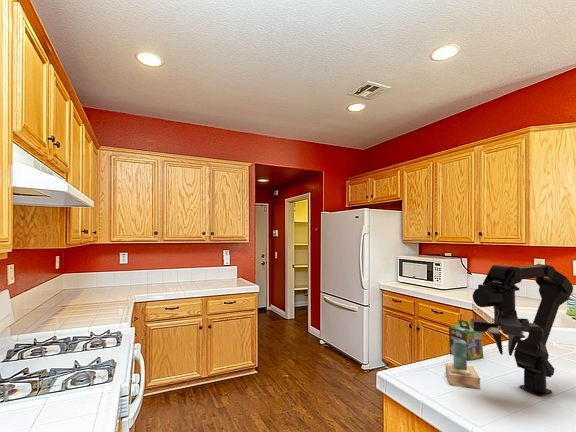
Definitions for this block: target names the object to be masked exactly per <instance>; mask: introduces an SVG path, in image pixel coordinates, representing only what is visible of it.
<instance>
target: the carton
mask: <svg viewBox="0 0 576 432" xmlns="http://www.w3.org/2000/svg"><path fill="white" fill-rule="evenodd" d="M467 367H468V369H469V371H470V373H471V375H466V374H458V373H451V372H450V369H449V366H448V362H445V375H446V378H447V380H448V383H449V385H450V386H455V387H461V388H462V387H463V388H470V389H477V390H480V389H481V377H480V376H479V374H478V372H477V371H476V369H475V367H474V366H473V365H467Z"/></svg>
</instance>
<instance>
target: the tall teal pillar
mask: <svg viewBox="0 0 576 432" xmlns="http://www.w3.org/2000/svg"><path fill="white" fill-rule="evenodd" d="M453 348H454V355H453V362H449V361H448V362H447V363H448V366H449V369H450V372H451V373H458V374H466V375H471V373H470V371H469V369H468V367H467V366H468V364H467V363H468V362H467V354H466V342H465V341H464V340H455V339H453Z"/></svg>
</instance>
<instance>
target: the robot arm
mask: <svg viewBox="0 0 576 432" xmlns="http://www.w3.org/2000/svg"><path fill="white" fill-rule="evenodd" d="M528 279H535V283H536V285H538V286H539V288H538V292H539V293H538V294H539V295H540V299H541V301H540V302H539V306H538V307H537V310H536V313H535V316H534V319H533V321H532V322H530V321H529V319H528V318H522V317H521V318H519V317H518V313H517V309H516V291H520V288H519V287H518V286H517V284H519V283H521V282H522V281H523V280H528ZM477 287H478V288H476V289H474V291H473V293H472V300H473V303H474V304H475V305H476V306H478V307H480V308H489V307H491V308H492V307H493V308H492V309H493V317H494V318H493V322H487V321H486V320H485V319H484V318H471V319H470V321H469V322H470V324H469V326H471V328H472V329H473V330H474V331H479V332H482V333H487V332H488V333H489V335H491V336H492V338H493V340H494V342H495V344H496V347H497V349H498V351H499V354H500V356H503V354H504V353H503V352H504V351H503V343H502V337H503V335H502V334H504V335H507V336H508V339H507V340H508V341H507V343H508V344H507V347H508V348H507V349H508V355H509V356H510V357H511V356H512V355H513V356H514V358H515V360H514V361H515V363H516V367H517V368H520V369H523V384H521V385H519V388H520V389H522V390H523V391H527V392H530V393H532V394H534V395H537V396H538V397H542V396H546V395H549V394H552V392H553V391H552V389H548V388H547V378H552V376H554V374H555V367H554V366H553V365H552V364H551V362H550V361H549V356H550V355H549V352H548V349H547V346H546V345H547V342H548V339H549V337H550V333H551V331H552V328H553V325H554V322H555V319H556V316H557V313H558V310H559V308H560V306H561V305H563V304H564V303H566V302H568V300H569V299H570V297H571V295H572V293H573V291H574V285H573V284H572V283H571V281H570V280H569V278H568V277H567V276H565V275H564V274H562V273H560V272H559V271H557V270H556V269H555V267H554V266H552V265H550V264H541V263H536V264H530V265H523V266H522V265H520V266H519V265H518V266H510V265H503V264H493V265H491V267H490V269H489V270H488V272H487V274H486V276H485V278H484V280H483V283H482V284H478V285H477ZM500 331H501V332H502V333H500ZM524 333H528V334H527V335H528V336H525V334H524Z"/></svg>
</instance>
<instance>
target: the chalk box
mask: <svg viewBox="0 0 576 432" xmlns="http://www.w3.org/2000/svg"><path fill="white" fill-rule="evenodd" d="M463 323H464V324H463ZM448 339H449V354H451V355H453V354H454V348H453V339H455V340H464V341H465V342H466V354H467V361H472V360H477V359H481V358H484V346H483V332H479V331H474V330H473V329H472V328H471V326H470V324H469V321H467V320H464V319H460V318H459V319H458V324H456V325H451V326H448Z"/></svg>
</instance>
